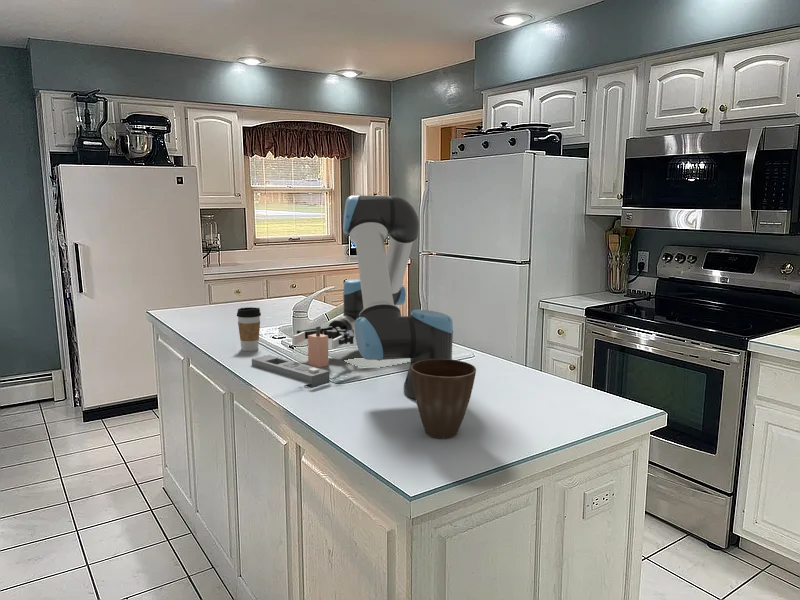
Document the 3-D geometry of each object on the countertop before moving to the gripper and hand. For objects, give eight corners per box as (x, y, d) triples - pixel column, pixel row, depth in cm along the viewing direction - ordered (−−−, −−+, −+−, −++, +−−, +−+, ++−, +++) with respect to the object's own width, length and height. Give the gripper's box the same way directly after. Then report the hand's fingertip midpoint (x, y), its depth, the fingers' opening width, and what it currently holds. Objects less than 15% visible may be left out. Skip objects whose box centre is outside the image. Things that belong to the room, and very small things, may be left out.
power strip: (329, 382, 181) (329, 368, 180) (311, 388, 176) (311, 373, 175) (269, 365, 199) (269, 352, 198) (251, 369, 193) (251, 356, 193)
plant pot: (468, 421, 151) (471, 358, 148) (478, 445, 136) (481, 376, 134) (408, 421, 151) (409, 358, 148) (411, 445, 136) (413, 376, 133)
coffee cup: (248, 353, 213) (246, 311, 211) (232, 349, 218) (231, 308, 216) (266, 348, 220) (265, 307, 217) (251, 345, 225) (250, 305, 222)
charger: (328, 369, 195) (328, 326, 193) (319, 372, 192) (318, 328, 190) (317, 366, 198) (317, 324, 196) (308, 369, 195) (307, 326, 193)
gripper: (375, 342, 207) (349, 358, 187) (310, 336, 215) (278, 350, 195) (376, 321, 205) (349, 334, 186) (309, 315, 214) (278, 327, 194)
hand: (313, 342), depth 190 cm, fingers open, 13 cm apart
